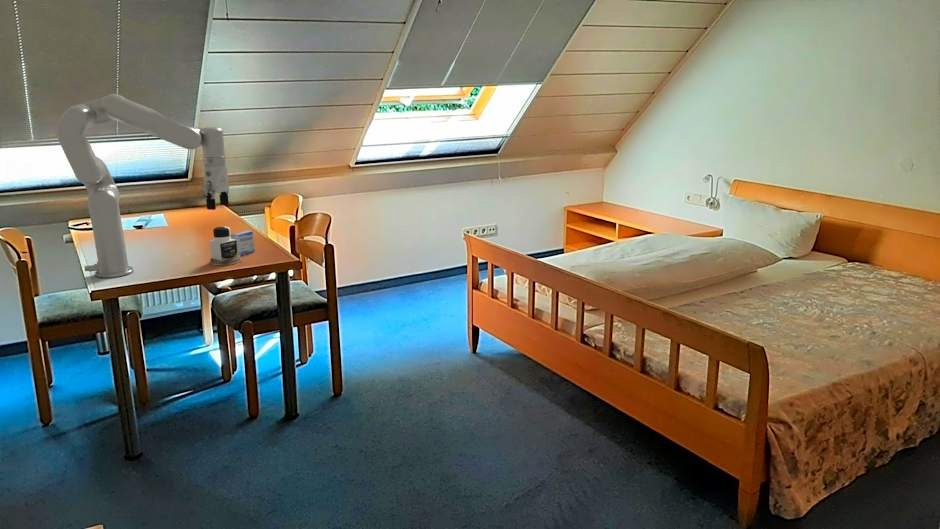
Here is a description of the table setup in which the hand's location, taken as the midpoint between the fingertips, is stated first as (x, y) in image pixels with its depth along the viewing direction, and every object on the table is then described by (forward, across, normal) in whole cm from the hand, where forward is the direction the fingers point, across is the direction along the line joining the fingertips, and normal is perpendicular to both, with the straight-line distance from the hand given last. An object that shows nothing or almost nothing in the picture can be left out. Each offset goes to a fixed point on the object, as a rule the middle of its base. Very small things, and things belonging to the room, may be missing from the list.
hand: (218, 207), depth 262 cm
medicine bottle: (+20, 0, -1) cm, 20 cm away
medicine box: (+21, +13, -2) cm, 25 cm away
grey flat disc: (+21, +1, -1) cm, 21 cm away
